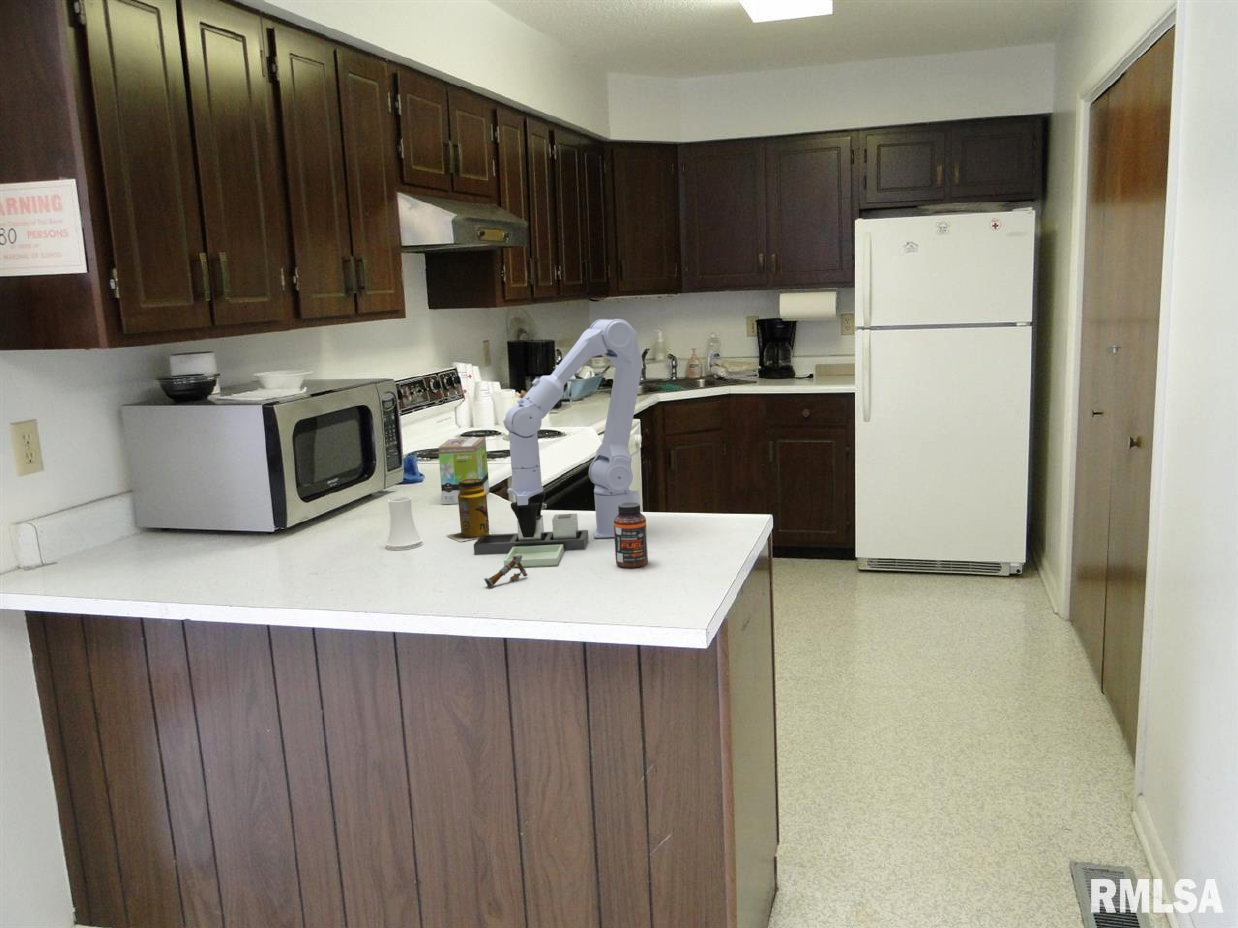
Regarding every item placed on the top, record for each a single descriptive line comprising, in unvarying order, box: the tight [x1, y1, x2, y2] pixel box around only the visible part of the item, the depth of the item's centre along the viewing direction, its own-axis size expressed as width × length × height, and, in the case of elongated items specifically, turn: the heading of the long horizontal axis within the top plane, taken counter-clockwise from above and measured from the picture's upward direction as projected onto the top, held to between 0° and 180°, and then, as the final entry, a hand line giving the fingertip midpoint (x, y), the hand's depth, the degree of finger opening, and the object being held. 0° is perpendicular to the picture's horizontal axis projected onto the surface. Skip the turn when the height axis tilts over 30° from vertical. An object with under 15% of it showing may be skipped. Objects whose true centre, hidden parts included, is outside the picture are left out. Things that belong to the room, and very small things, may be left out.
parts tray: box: [503, 545, 565, 569], centre depth 189 cm, size 10×10×2 cm
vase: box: [385, 496, 423, 551], centre depth 206 cm, size 8×8×10 cm
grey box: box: [516, 515, 545, 542], centre depth 199 cm, size 4×4×6 cm
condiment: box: [446, 479, 496, 543], centre depth 211 cm, size 7×8×12 cm
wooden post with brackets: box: [483, 555, 528, 589], centre depth 175 cm, size 2×8×4 cm, turn 128°
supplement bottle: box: [614, 502, 649, 569], centre depth 181 cm, size 6×6×11 cm
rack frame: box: [473, 529, 589, 555], centre depth 199 cm, size 22×8×2 cm, turn 86°
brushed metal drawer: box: [551, 513, 579, 540], centre depth 198 cm, size 4×4×6 cm
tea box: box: [438, 436, 490, 505], centre depth 252 cm, size 15×10×15 cm
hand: (531, 532), depth 199 cm, fingers open, 6 cm apart
